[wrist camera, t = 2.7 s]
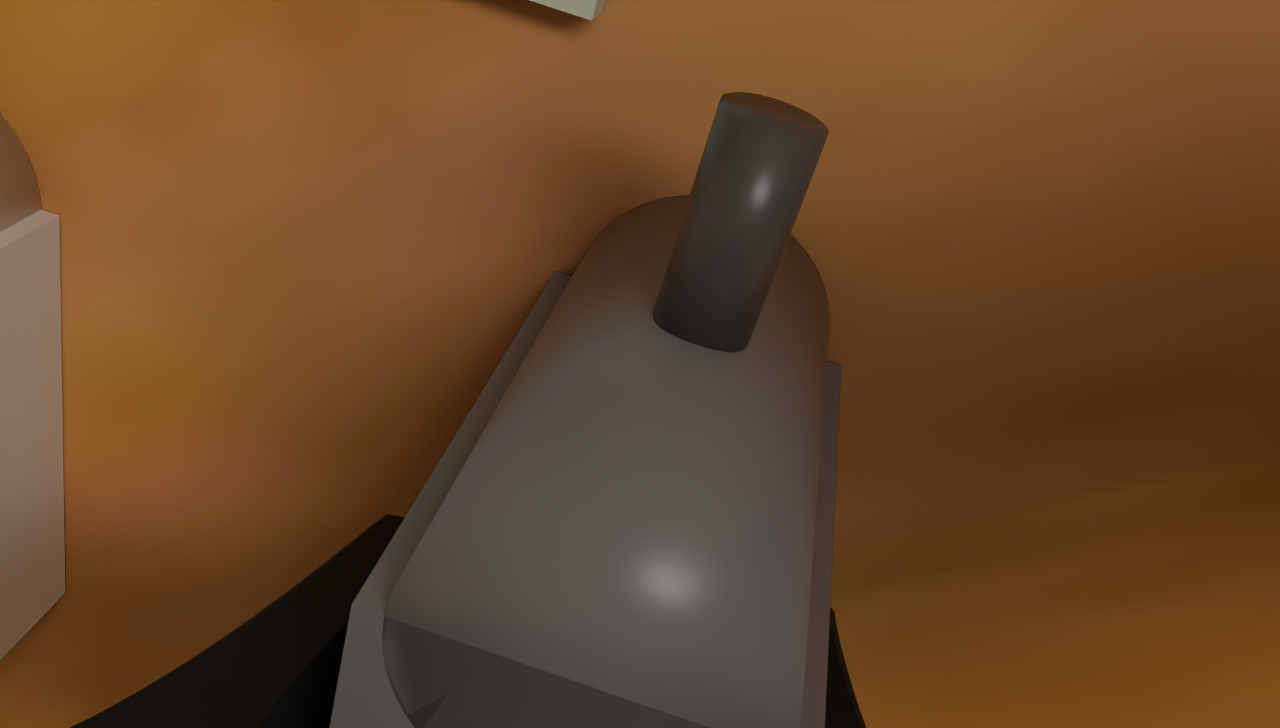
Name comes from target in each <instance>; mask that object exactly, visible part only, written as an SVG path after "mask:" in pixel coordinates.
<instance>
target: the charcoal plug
mask: <svg viewBox="0 0 1280 728" xmlns="http://www.w3.org/2000/svg"><path fill="white" fill-rule="evenodd" d="M827 136H828V129H827V127H826V126H825V125H824V124H823V123H822V122H821V121H820V120H818V119H817V118H816V117H814V116H813V115H811V114H809V113H807V112H806V111H804V110H802V109H800V108H798V107H795V106H793V105H791V104H788V103H785V102H783V101H780V100H777V99H773V98H770V97H766V96H762V95H757V94H752V93H743V92H733V93H727V94H724V95H723V96H722V97H721V99H720V102H719V105H718V108H717V111H716V114H715V118H714V121H713V124H712V127H711V130H710V133H709V136H708V140H707V143H706V146H705V149H704V152H703V155H702V158H701V162H700V165H699V168H698V171H697V174H696V177H695V180H694V184H693V187H692V190H691V193H690V195H683V196H674V197H667V198H663V199H659V200H655V201H651V202H648V203H646V204H643V205H641V206H638V207H636V208H634V209H632V210H630V211H628V212H627V213H625V214H623V215H621V216H620V217H619V218H617V219H616V220H615V221H613V222H612V223H611V224H609V225H608V226H607V227H606V228H605V229H604V230H603V231H602V232H601V233H600V234H599V235H598V236H597V237H596V239H595V240H594V241H593V243H592V244H591V246H590V247H589V248H588V250H587V251H586V253H585V255H584V257H583V258H582V260H581V262H580V264H579V265H578V267H577V269H576V271H575V272H574V274H573V276H570V275H567V274H564V273H561V272H558V271H555V273H554V274H553V276H552V278H551V279H550V281H549V283H548V284H547V286H546V287H545V289H544V291H543V292H542V294H541V296H540V297H539V299H538V301H537V302H536V304H535V305H534V307H533V309H532V310H531V312H530V314H529V315H528V317H527V319H526V320H525V322H524V323H523V325H522V327H521V328H520V330H519V332H518V333H517V335H516V337H515V338H514V340H513V341H512V343H511V345H510V346H509V348H508V350H507V351H506V353H505V355H504V356H503V358H502V359H501V361H500V363H499V364H498V366H497V368H496V369H495V371H494V373H493V374H492V376H491V377H490V379H489V381H488V382H487V384H486V386H485V387H484V389H483V391H482V392H481V394H480V395H479V397H478V399H477V400H476V402H475V404H474V405H473V407H472V409H471V410H470V412H469V413H468V415H467V417H466V418H465V420H464V422H463V423H462V425H461V427H460V428H459V430H458V431H457V433H456V435H455V436H454V438H453V440H452V441H451V443H450V445H449V446H448V448H447V449H446V451H445V453H444V454H443V456H442V458H441V459H440V461H439V463H438V464H437V466H436V467H435V469H434V471H433V472H432V474H431V476H430V477H429V479H428V481H427V482H426V484H425V485H424V487H423V489H422V490H421V492H420V494H419V495H418V497H417V499H416V500H415V502H414V503H413V505H412V507H411V508H410V510H409V512H408V513H407V515H406V517H405V518H404V520H403V521H402V523H401V525H400V526H399V528H398V530H397V531H396V533H395V534H394V536H393V538H392V539H391V541H390V543H389V544H388V546H387V548H386V549H385V551H384V552H383V554H382V556H381V557H380V559H379V561H378V562H377V564H376V566H375V567H374V569H373V570H372V572H371V574H370V575H369V577H368V579H367V580H366V582H365V584H364V585H363V587H362V588H361V590H360V592H359V593H358V595H357V597H356V598H355V600H354V602H353V603H352V605H351V611H350V616H349V622H348V627H347V633H346V638H345V644H344V649H343V655H342V661H341V666H340V672H339V677H338V683H337V688H336V694H335V700H334V705H333V711H332V716H331V722H330V727H329V728H825V711H826V689H827V667H828V645H829V623H830V601H831V579H832V557H833V535H834V513H835V491H836V469H837V447H838V425H839V404H840V382H841V366H840V365H837V364H834V363H831V362H828V361H827V349H828V335H829V308H828V299H827V295H826V291H825V288H824V284H823V281H822V279H821V277H820V274H819V272H818V270H817V268H816V266H815V264H814V263H813V261H812V259H811V258H810V256H809V254H808V253H807V252H806V250H805V249H804V248H803V247H802V246H801V244H800V243H799V242H798V241H797V240H796V239H795V238H794V237H793V236H792V235H791V234H790V233H791V231H792V228H793V225H794V223H795V220H796V217H797V215H798V212H799V210H800V207H801V204H802V202H803V199H804V196H805V194H806V191H807V188H808V186H809V183H810V180H811V178H812V175H813V173H814V170H815V167H816V165H817V162H818V159H819V157H820V154H821V151H822V149H823V146H824V143H825V141H826V138H827Z"/></svg>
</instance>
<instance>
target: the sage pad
mask: <svg viewBox="0 0 1280 728" xmlns="http://www.w3.org/2000/svg"><path fill="white" fill-rule="evenodd" d="M530 1H533V2H536V3H539V4H542V5H545V6H548V7H551V8H554V9H557V10H560V11H563V12H566V13H570V14H573V15H576V16H579V17H582V18H585V19H588V20H591V21H592V20H593V19H594V18H595V17H596V16H598V15H599V14H600V13H601V12H602V10H603V6H604V2H605V0H530Z"/></svg>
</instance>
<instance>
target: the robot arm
mask: <svg viewBox="0 0 1280 728" xmlns="http://www.w3.org/2000/svg"><path fill="white" fill-rule="evenodd" d="M403 520H404V517H399V516H394V515H389V514H387V515H386V516H384V517H383V518H381V519H379V520H378V521H377V522H376V523H374V524H373V525H372V526H370V527H369V528H368V529H367V530H365V531H364V532H363V533H362V534H360V535H359V536H358V537H357V538H355V539H354V540H353V541H352V542H350V543H349V544H348V545H347V546H345V547H344V548H343V549H342V550H340V551H339V552H338V553H337V554H335V555H334V556H333V557H332V558H330V559H329V560H328V561H327V562H325V563H324V564H323V565H321V566H320V567H319V568H318V569H316V570H315V571H314V572H312V573H311V574H310V575H309V576H307V577H306V578H305V579H304V580H302V581H301V582H300V583H298V584H297V585H296V586H294V587H293V588H292V589H290V590H289V591H287V592H286V593H285V594H283V595H282V596H281V597H279V598H278V599H277V600H275V601H274V602H273V603H271V604H270V605H269V606H267V607H266V608H265V609H263V610H262V611H261V612H259V613H258V614H257V615H255V616H254V617H252V618H251V619H250V620H248V621H247V622H245V623H244V624H242V625H241V626H240V627H238V628H237V629H235V630H234V631H232V632H231V633H229V634H228V635H226V636H225V637H223V638H222V639H220V640H219V641H217V642H216V643H214V644H213V645H211V646H210V647H208V648H207V649H205V650H204V651H202V652H201V653H200V654H198V655H197V656H195V657H194V658H192V659H191V660H189V661H187V662H186V663H184V664H183V665H181V666H180V667H178V668H176V669H175V670H173V671H171V672H170V673H168V674H167V675H165V676H163V677H162V678H160V679H158V680H157V681H155V682H153V683H152V684H150V685H148V686H147V687H145V688H143V689H142V690H140V691H138V692H136V693H135V694H133V695H131V696H129V697H128V698H126V699H124V700H122V701H120V702H119V703H117V704H115V705H113V706H112V707H110V708H108V709H106V710H104V711H102V712H101V713H99V714H97V715H95V716H93V717H91V718H89V719H87V720H85V721H83V722H81V723H79V724H76V725H74V726H72V727H70V728H329V727H330V722H331V716H332V711H333V705H334V700H335V694H336V688H337V683H338V677H339V672H340V666H341V661H342V655H343V649H344V644H345V638H346V633H347V627H348V622H349V616H350V611H351V605H352V603H353V602H354V600H355V598H356V597H357V595H358V593H359V592H360V590H361V588H362V587H363V585H364V584H365V582H366V580H367V579H368V577H369V575H370V574H371V572H372V570H373V569H374V567H375V566H376V564H377V562H378V561H379V559H380V557H381V556H382V554H383V552H384V551H385V549H386V548H387V546H388V544H389V543H390V541H391V539H392V538H393V536H394V534H395V533H396V531H397V530H398V528H399V526H400V525H401V523H402V521H403ZM825 728H866V726H865V723H864V721H863V718H862V715H861V712H860V709H859V706H858V703H857V700H856V697H855V694H854V691H853V688H852V684H851V681H850V678H849V674H848V671H847V668H846V664H845V660H844V656H843V653H842V649H841V644H840V640H839V635H838V631H837V626H836V620H835V613H834V611H833V610H832V608H831V607H830V623H829V645H828V667H827V689H826V711H825Z"/></svg>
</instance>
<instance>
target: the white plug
mask: <svg viewBox="0 0 1280 728" xmlns="http://www.w3.org/2000/svg"><path fill="white" fill-rule="evenodd" d="M64 593H65V536H64V472H63V408H62V344H61V280H60V216H59V215H56V214H53V213H50V212H47V211H44V210H41V201H40V193H39V188H38V184H37V180H36V177H35V174H34V171H33V168H32V165H31V163H30V160H29V158H28V156H27V154H26V152H25V149H24V148H23V146H22V144H21V143H20V141H19V139H18V137H17V136H16V134H15V133H14V131H13V130H12V128H11V127H10V125H9V124H8V123H7V121H6V120H5V119H4V117H3V116H2V115H1V114H0V660H1V659H2V658H3V657H4V656H5V655H6V654H7V653H8V652H9V651H10V650H11V649H12V648H13V647H14V645H15V644H16V643H17V642H18V641H19V640H20V639H21V638H22V637H23V636H24V635H25V634H26V633H27V632H28V631H29V630H30V629H31V628H32V627H33V626H34V625H35V624H36V623H37V622H38V621H39V619H40V618H41V617H42V616H43V615H44V614H45V613H46V612H47V611H48V610H49V609H50V608H51V607H52V606H53V605H54V604H55V603H56V602H57V601H58V600H59V599H60V598H61V597H62V596H63V595H64Z"/></svg>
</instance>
